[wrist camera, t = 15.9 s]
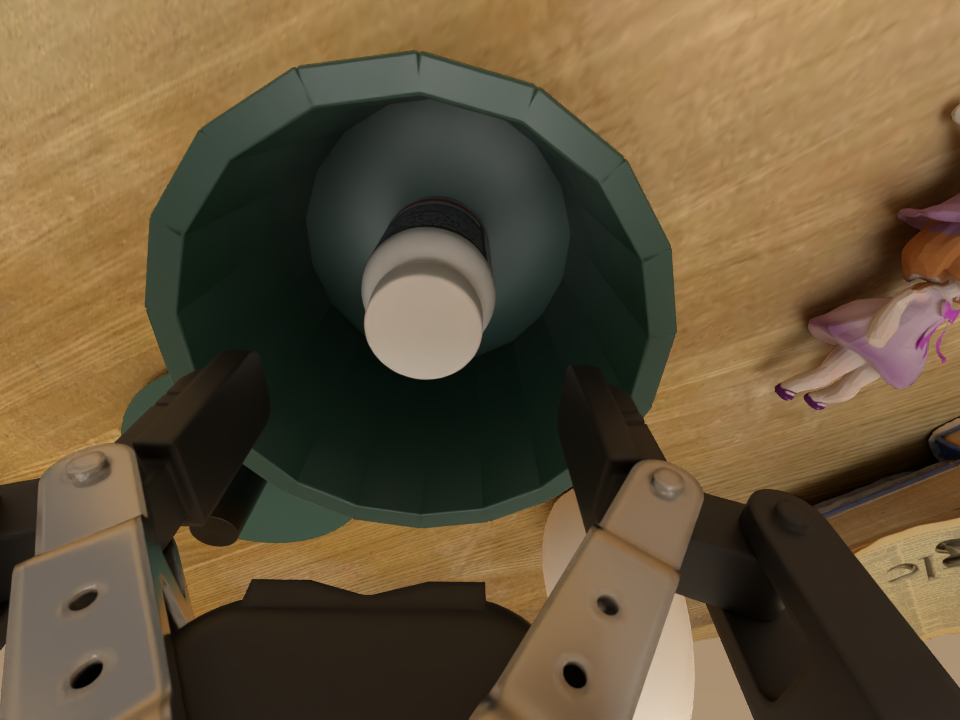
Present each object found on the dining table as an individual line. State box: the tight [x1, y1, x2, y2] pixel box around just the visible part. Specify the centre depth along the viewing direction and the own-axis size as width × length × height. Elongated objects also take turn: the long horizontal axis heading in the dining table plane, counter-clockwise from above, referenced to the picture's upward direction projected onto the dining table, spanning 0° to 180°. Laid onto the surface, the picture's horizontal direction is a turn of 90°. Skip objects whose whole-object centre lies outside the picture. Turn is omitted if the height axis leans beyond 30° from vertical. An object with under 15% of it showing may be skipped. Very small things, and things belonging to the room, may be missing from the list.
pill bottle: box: [361, 197, 496, 379], centre depth 18 cm, size 5×5×9 cm
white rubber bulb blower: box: [542, 488, 695, 720], centre depth 25 cm, size 8×8×18 cm
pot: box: [145, 50, 677, 528], centre depth 18 cm, size 15×15×12 cm
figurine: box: [775, 104, 960, 410], centre depth 22 cm, size 9×8×15 cm
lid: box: [121, 372, 352, 547], centre depth 27 cm, size 16×16×6 cm
